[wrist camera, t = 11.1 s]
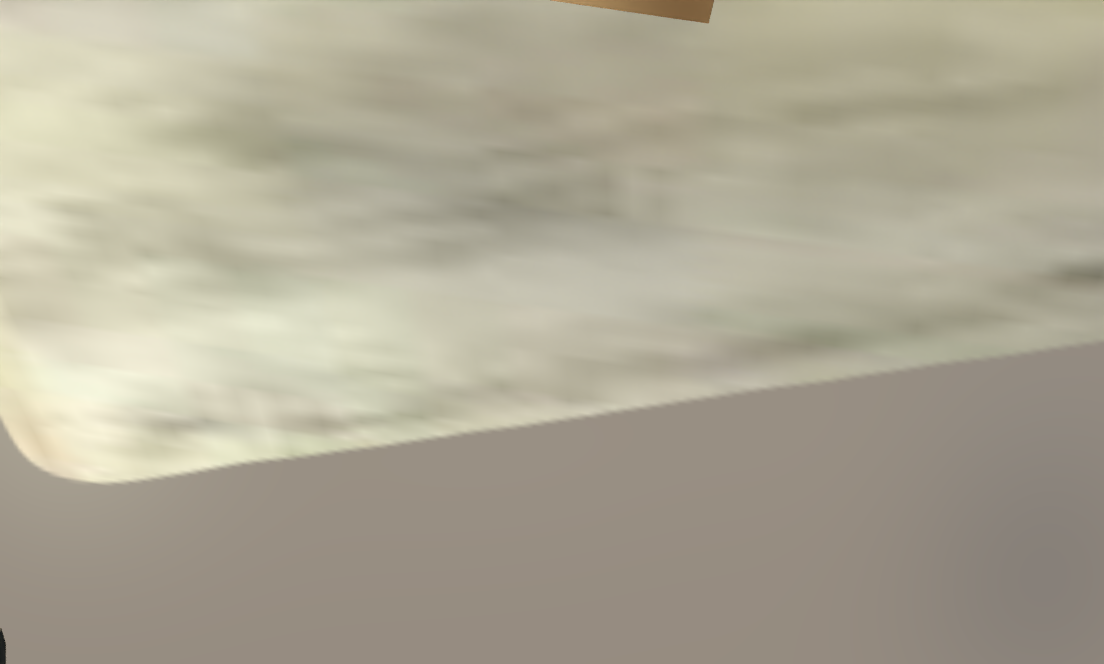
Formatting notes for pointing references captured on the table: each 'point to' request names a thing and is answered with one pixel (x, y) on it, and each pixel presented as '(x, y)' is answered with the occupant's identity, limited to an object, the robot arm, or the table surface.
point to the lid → (657, 7)
